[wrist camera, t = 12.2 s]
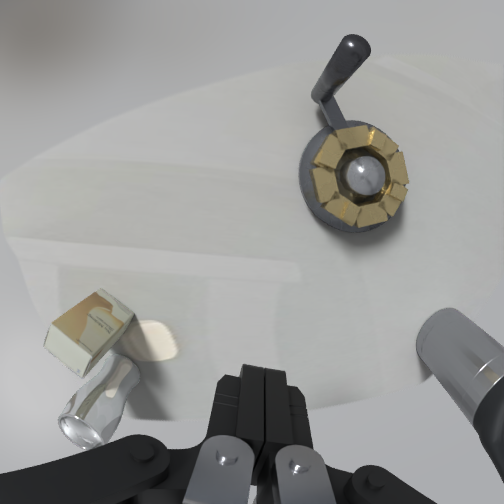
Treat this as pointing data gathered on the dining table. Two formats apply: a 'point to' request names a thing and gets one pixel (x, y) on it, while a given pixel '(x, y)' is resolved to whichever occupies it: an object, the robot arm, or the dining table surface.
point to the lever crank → (353, 145)
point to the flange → (344, 178)
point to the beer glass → (99, 404)
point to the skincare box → (87, 331)
